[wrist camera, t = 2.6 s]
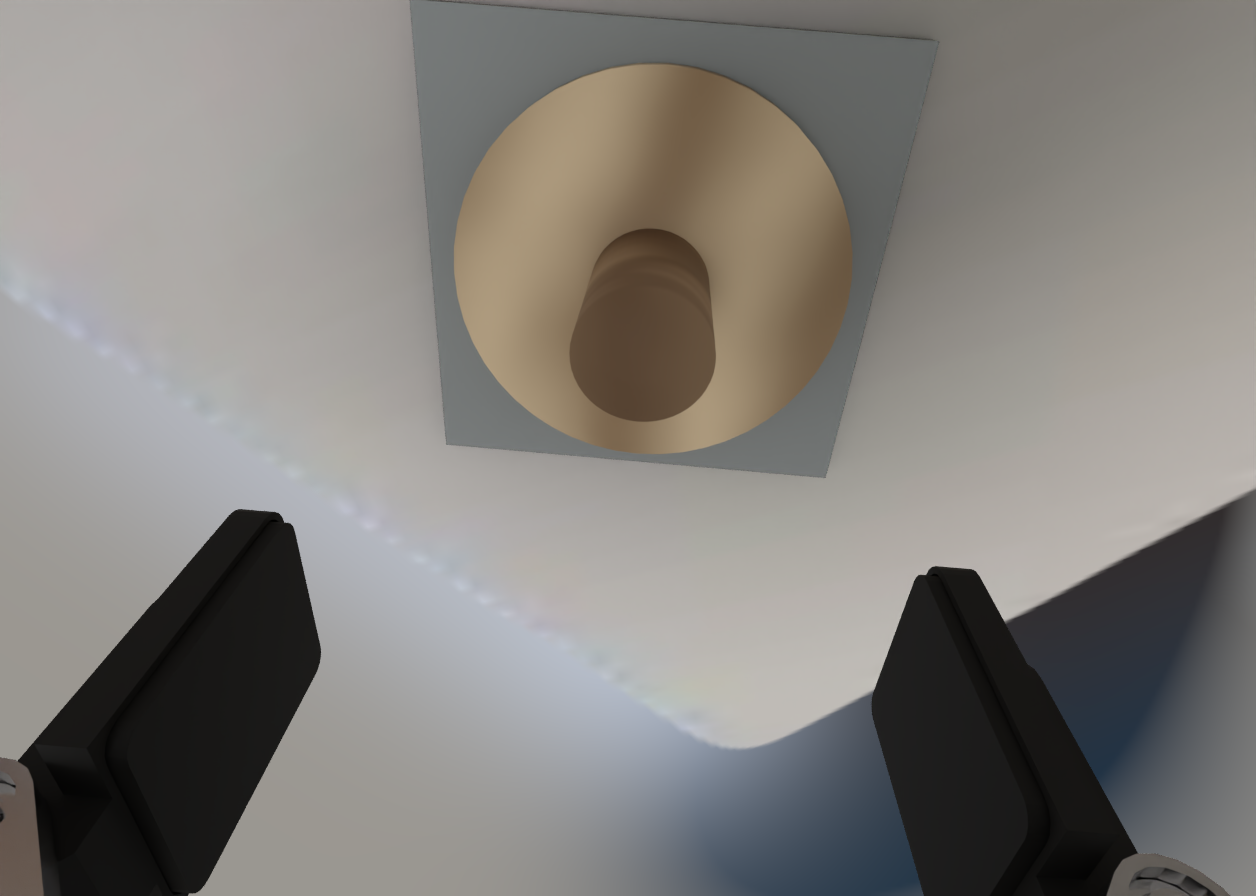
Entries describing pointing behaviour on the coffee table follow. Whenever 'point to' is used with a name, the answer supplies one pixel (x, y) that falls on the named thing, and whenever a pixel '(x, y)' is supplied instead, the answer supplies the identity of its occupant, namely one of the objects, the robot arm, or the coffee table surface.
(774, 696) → the coffee table surface
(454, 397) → the mat
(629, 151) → the lid
